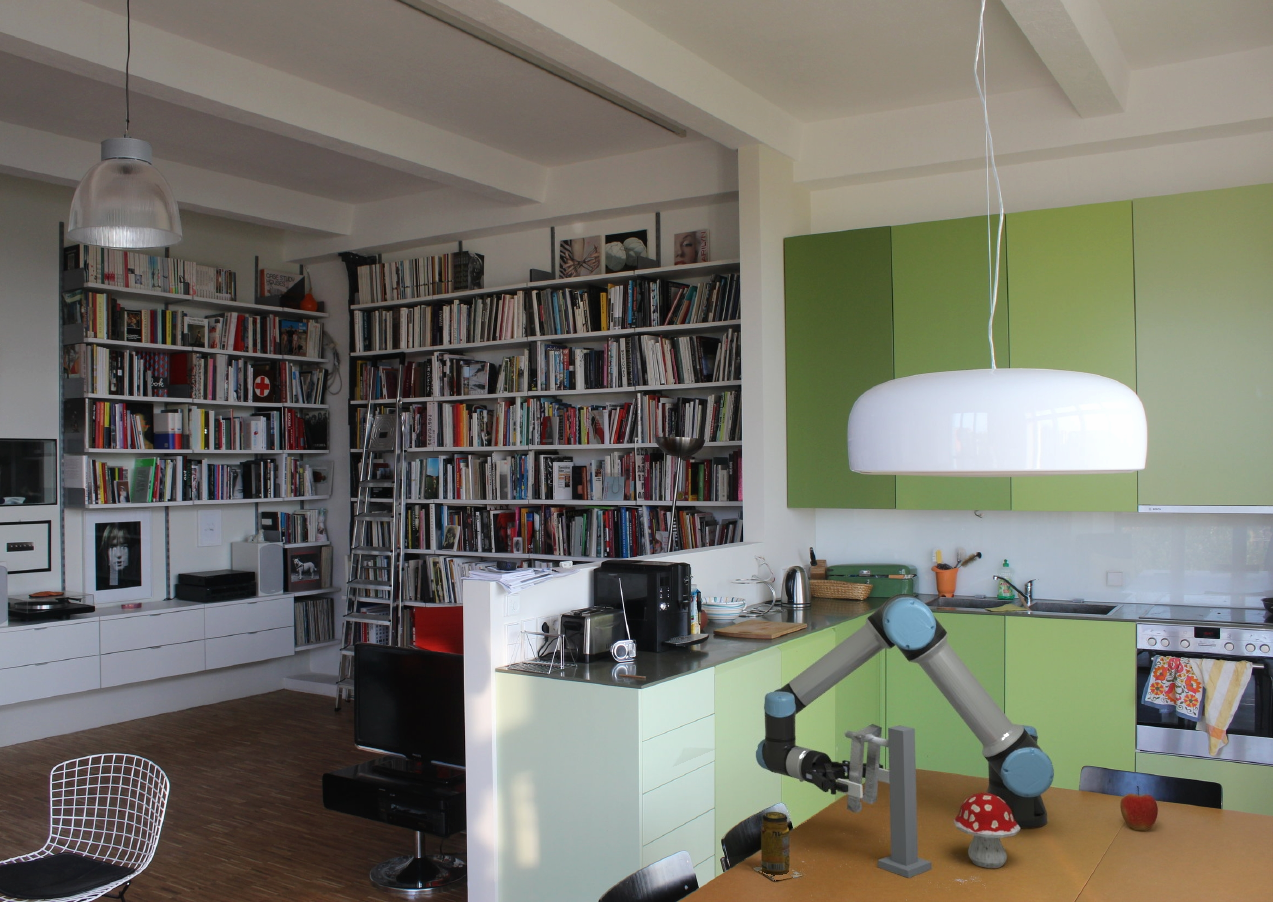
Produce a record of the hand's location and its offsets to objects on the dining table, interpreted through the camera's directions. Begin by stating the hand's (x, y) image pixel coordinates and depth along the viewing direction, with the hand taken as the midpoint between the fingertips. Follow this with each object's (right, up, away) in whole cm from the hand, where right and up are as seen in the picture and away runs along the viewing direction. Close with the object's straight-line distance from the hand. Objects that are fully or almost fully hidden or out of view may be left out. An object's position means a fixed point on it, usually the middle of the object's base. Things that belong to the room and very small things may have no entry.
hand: (881, 785), depth 219 cm
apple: (+66, -17, +18) cm, 71 cm away
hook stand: (0, -16, -1) cm, 16 cm away
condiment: (-24, -17, -7) cm, 30 cm away
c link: (-3, -6, +5) cm, 8 cm away
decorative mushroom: (+23, -16, -3) cm, 28 cm away
